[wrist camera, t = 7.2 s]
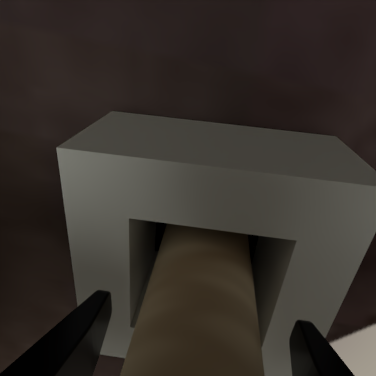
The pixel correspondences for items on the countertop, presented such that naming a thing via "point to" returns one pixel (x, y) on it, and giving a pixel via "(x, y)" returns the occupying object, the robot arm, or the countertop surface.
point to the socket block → (217, 215)
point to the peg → (198, 309)
